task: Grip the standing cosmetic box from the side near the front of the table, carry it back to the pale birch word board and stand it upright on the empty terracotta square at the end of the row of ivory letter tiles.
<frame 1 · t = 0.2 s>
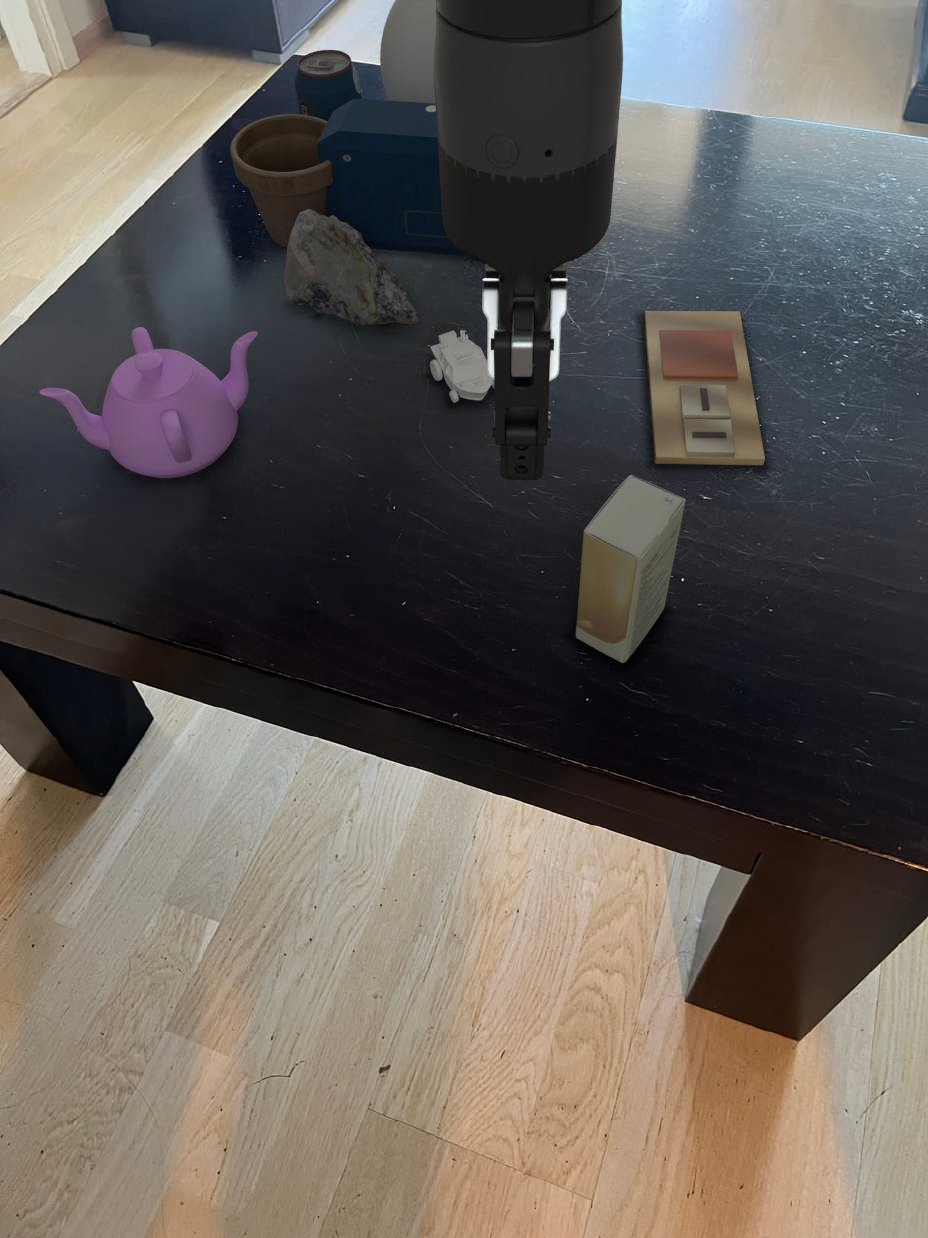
hand: (523, 419, 53), 22 cm above the table, tool pointing down, fingers open, 8 cm apart
toy car: (467, 385, 89), on the table
decorative egg: (435, 116, 119), on the table
mineral rock: (352, 317, 96), on the table
teapot: (180, 441, 86), on the table
soda can: (340, 172, 112), on the table
mug: (522, 167, 111), on the table
cosmetic box: (618, 626, 72), on the table
radio: (434, 235, 104), on the table, touching flower pot
word board: (699, 386, 88), on the table
flower pot: (301, 235, 105), on the table, touching radio
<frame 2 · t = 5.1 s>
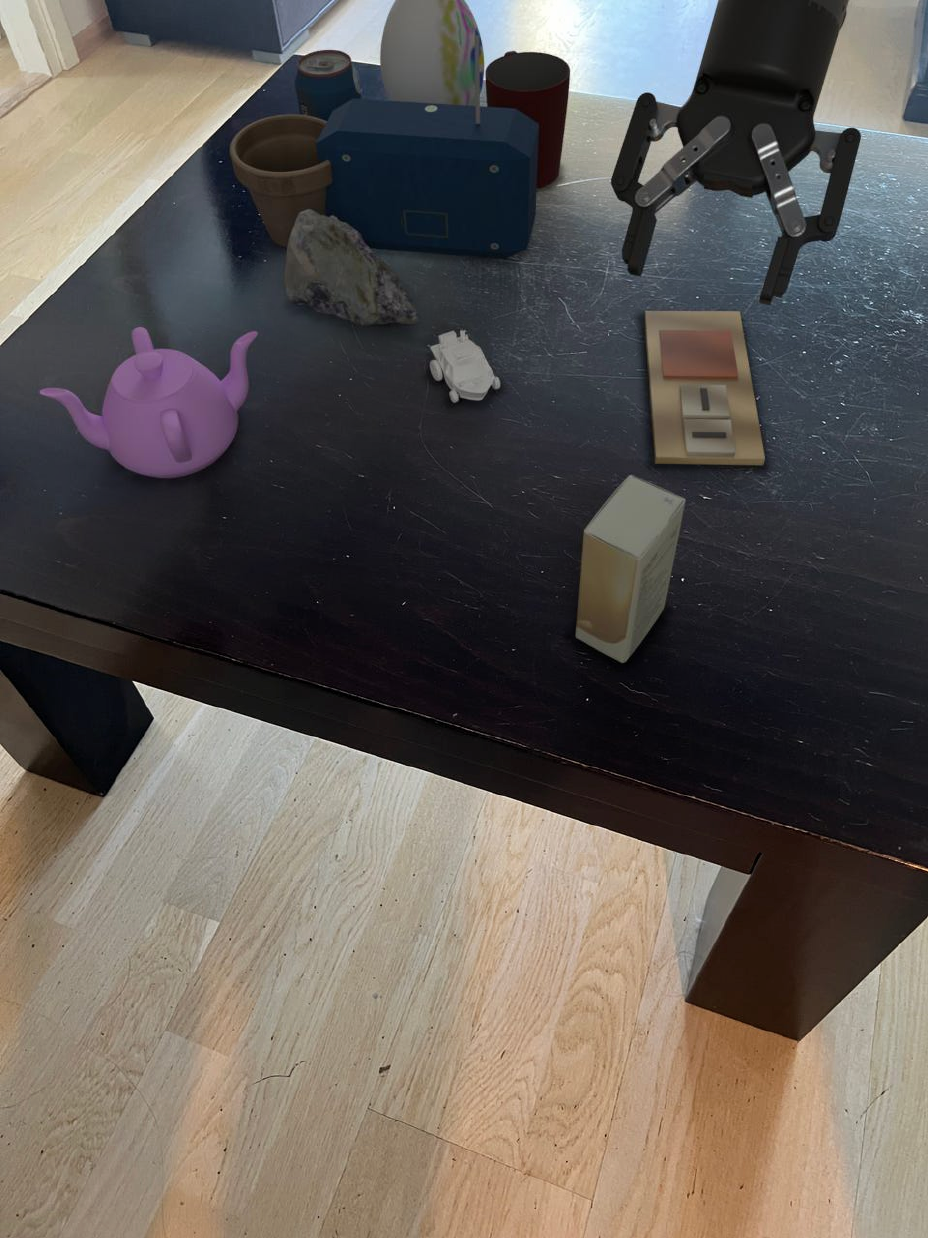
hand: (698, 287, 62), 21 cm above the table, tool tilted 45°, fingers open, 8 cm apart
nothing on the table moved.
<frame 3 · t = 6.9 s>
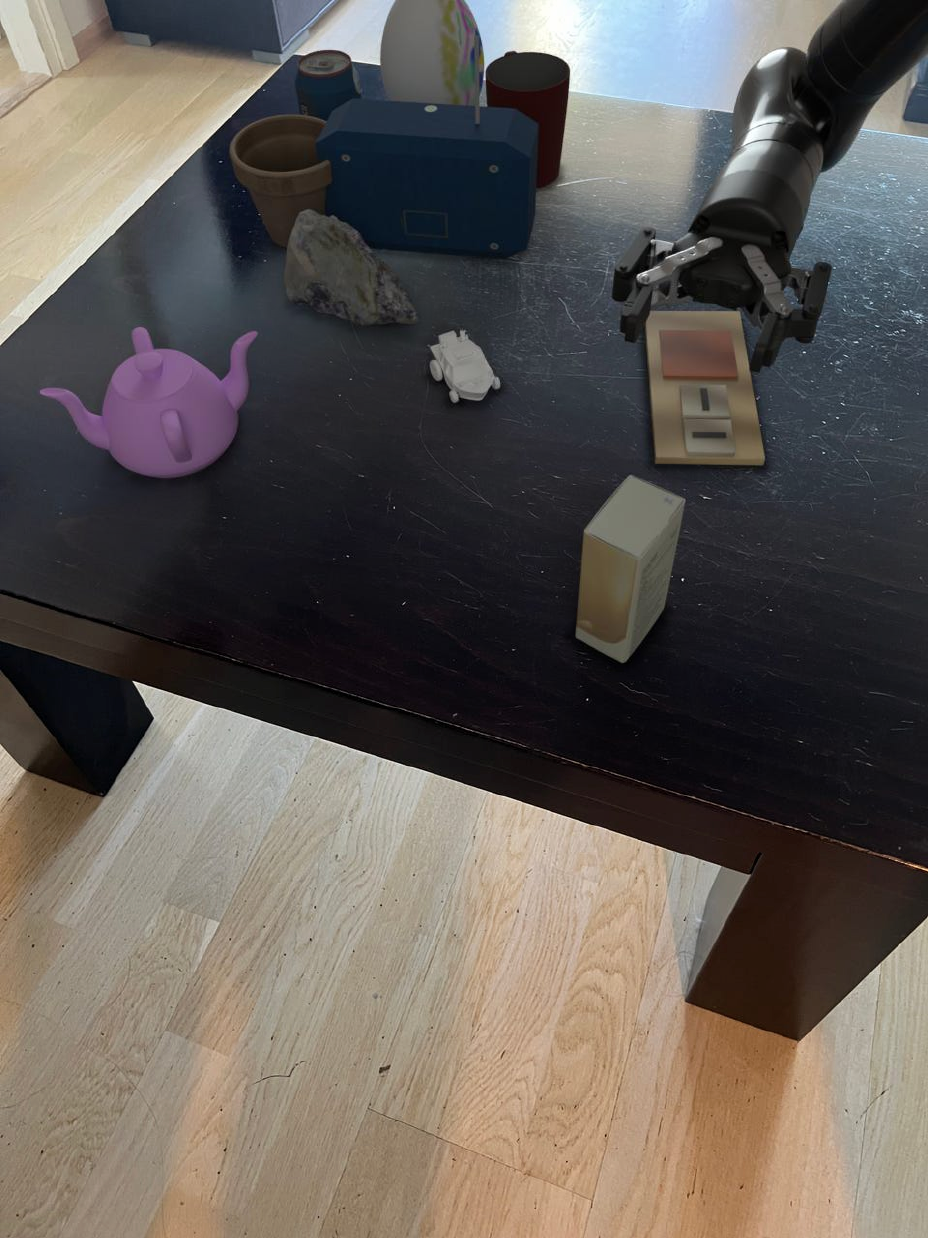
hand: (692, 346, 64), 17 cm above the table, tool horizontal, fingers open, 8 cm apart
nothing on the table moved.
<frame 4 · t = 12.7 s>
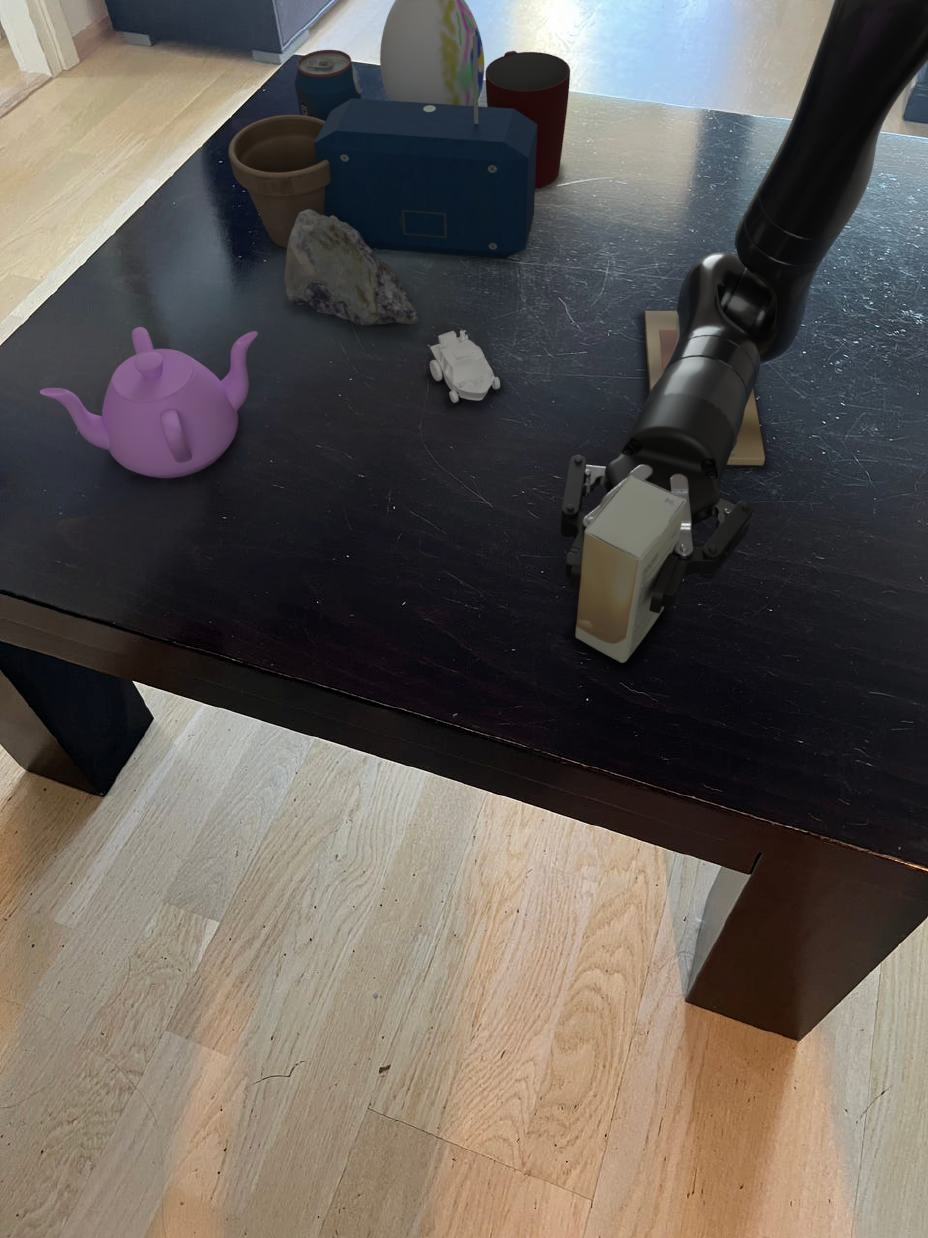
hand: (615, 591, 65), 7 cm above the table, tool horizontal, fingers closed on cosmetic box, 5 cm apart
cosmetic box: (618, 626, 72), on the table, touching gripper
everything else where it was.
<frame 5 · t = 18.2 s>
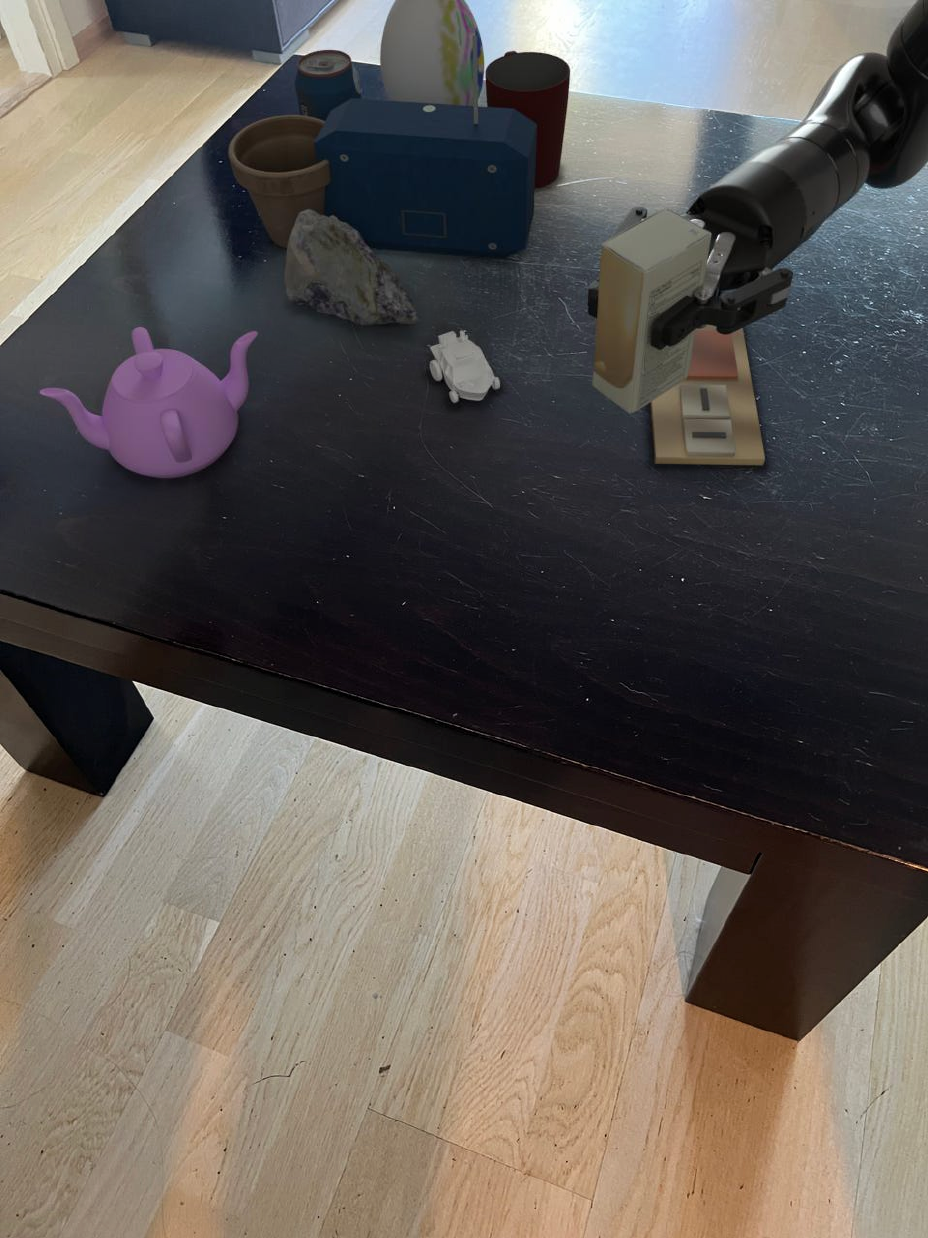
hand: (624, 320, 66), 17 cm above the table, tool horizontal, fingers closed on cosmetic box, 4 cm apart
cosmetic box: (638, 385, 73), point 10 cm above the table, touching gripper
everything else where it was.
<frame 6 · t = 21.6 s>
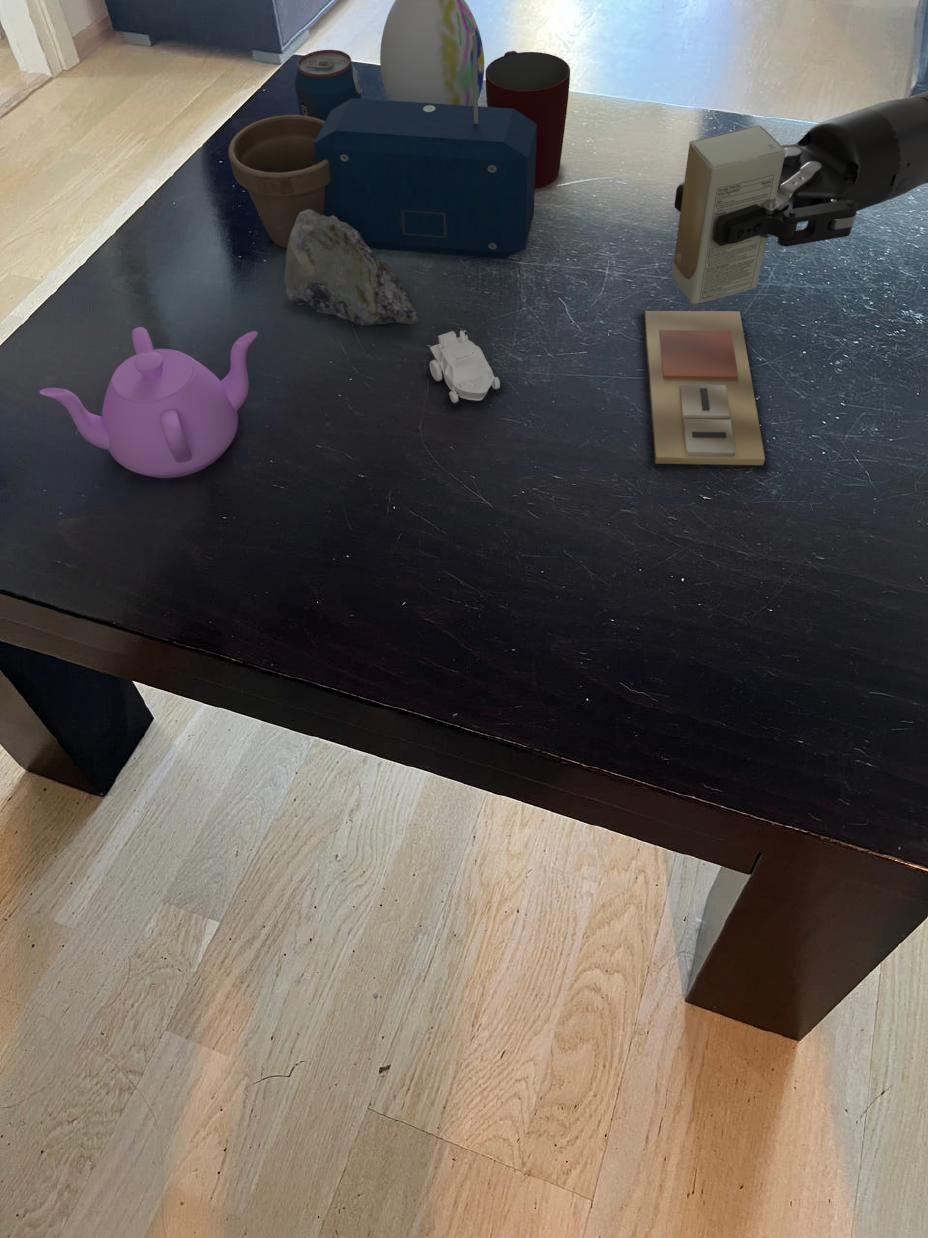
hand: (698, 215, 77), 15 cm above the table, tool horizontal, fingers closed on cosmetic box, 4 cm apart
cosmetic box: (711, 285, 83), point 8 cm above the table, touching gripper
everything else where it was.
when the fingers open (8 cm above the table, at t = 23.9 s): cosmetic box stays where it is, resting on word board.
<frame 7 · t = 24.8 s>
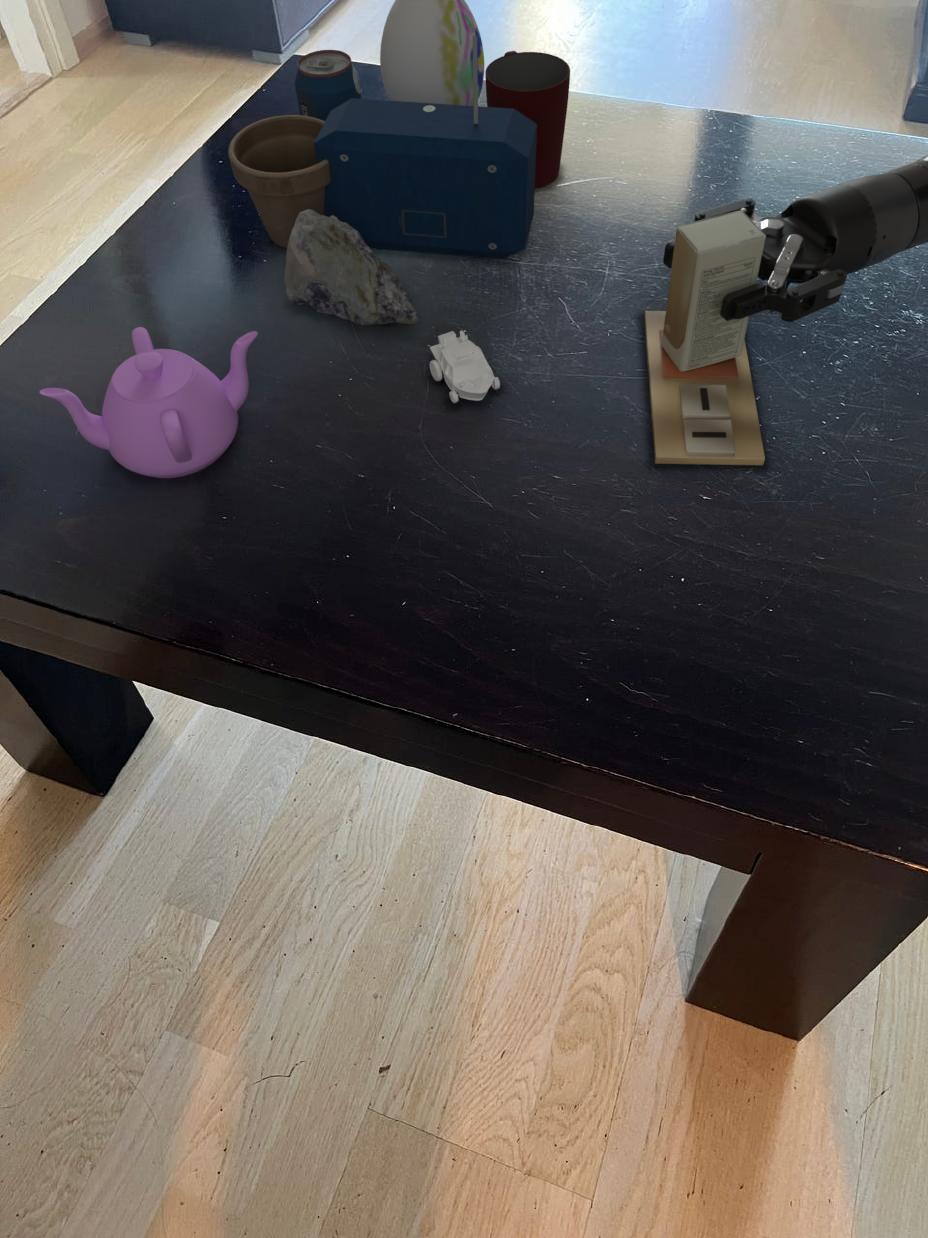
hand: (694, 281, 82), 9 cm above the table, tool horizontal, fingers open, 8 cm apart
cosmetic box: (698, 353, 89), point 1 cm above the table, touching word board
everything else where it was.
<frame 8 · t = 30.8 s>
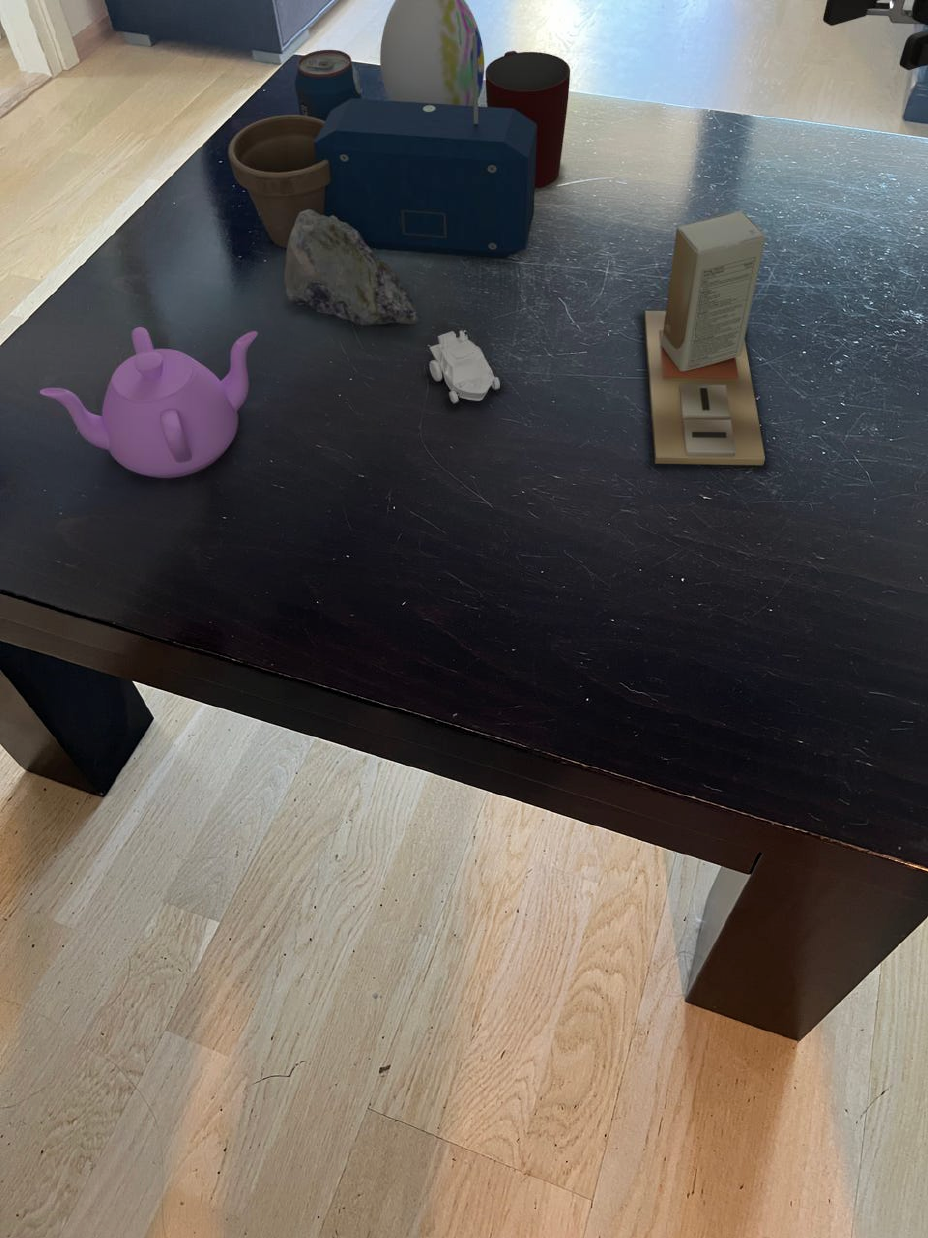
hand: (866, 30, 71), 26 cm above the table, tool horizontal, fingers open, 8 cm apart
nothing on the table moved.
at the end: cosmetic box 0.1 cm from the target spot on the word board, point 0.8 cm above the word board's base; cosmetic box tilted 0°; the gripper is holding nothing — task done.
